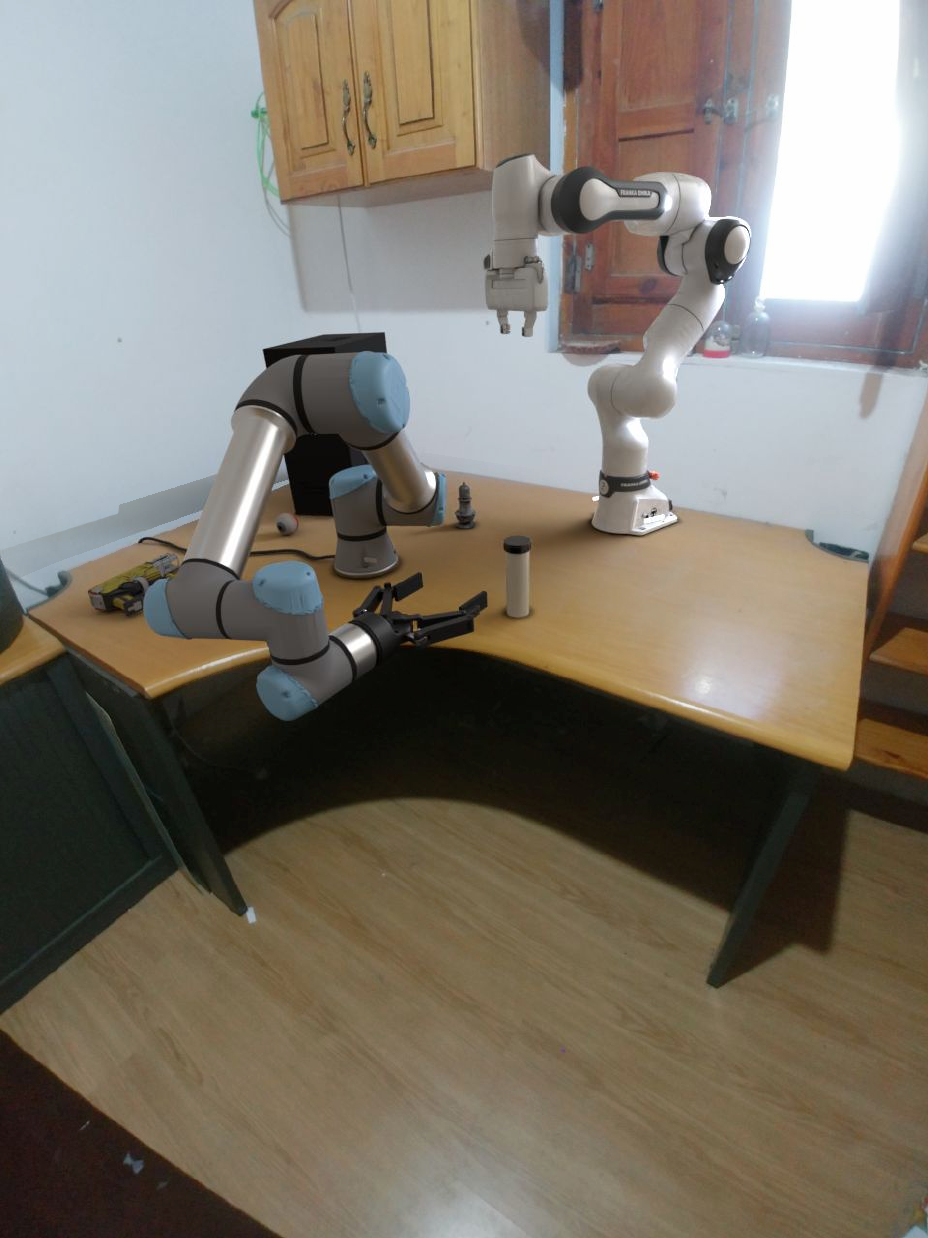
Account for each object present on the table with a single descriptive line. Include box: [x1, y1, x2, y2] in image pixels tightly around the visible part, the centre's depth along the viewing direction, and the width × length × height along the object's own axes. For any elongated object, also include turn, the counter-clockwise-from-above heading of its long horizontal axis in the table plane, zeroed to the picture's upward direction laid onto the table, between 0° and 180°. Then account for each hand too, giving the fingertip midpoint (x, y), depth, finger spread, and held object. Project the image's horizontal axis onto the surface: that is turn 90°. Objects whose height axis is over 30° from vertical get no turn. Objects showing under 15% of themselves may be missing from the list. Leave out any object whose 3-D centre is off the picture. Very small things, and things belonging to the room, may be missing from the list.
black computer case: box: [262, 331, 388, 516], centre depth 181 cm, size 38×20×45 cm, turn 167°
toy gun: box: [87, 552, 181, 618], centre depth 137 cm, size 5×24×15 cm
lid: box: [502, 534, 532, 554], centre depth 114 cm, size 5×5×2 cm
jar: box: [504, 551, 530, 619], centre depth 118 cm, size 5×5×15 cm
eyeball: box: [275, 511, 300, 536], centre depth 163 cm, size 6×6×6 cm
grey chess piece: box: [454, 481, 477, 529], centre depth 161 cm, size 6×6×12 cm
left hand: (452, 588), depth 100 cm, fingers open, 13 cm apart
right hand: (516, 335), depth 125 cm, fingers open, 8 cm apart
